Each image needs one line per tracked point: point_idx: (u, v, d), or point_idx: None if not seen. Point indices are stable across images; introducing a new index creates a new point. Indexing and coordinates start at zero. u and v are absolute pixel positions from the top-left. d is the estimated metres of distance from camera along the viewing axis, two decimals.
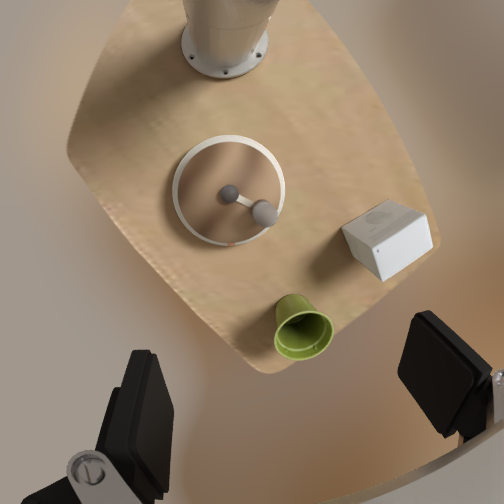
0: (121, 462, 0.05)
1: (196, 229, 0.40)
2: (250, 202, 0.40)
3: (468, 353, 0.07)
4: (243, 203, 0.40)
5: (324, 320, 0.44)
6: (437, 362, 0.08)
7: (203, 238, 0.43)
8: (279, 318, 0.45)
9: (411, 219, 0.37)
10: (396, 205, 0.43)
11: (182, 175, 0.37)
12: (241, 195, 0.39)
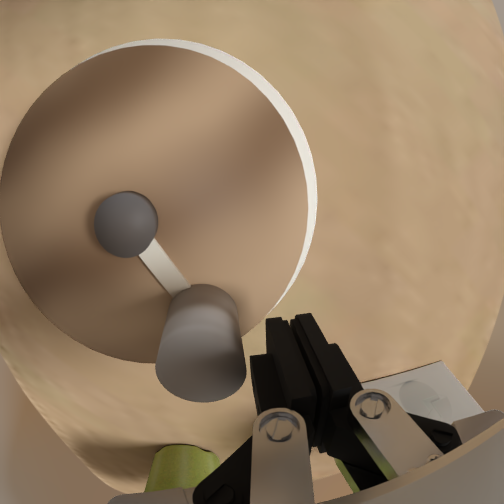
0: None
1: (18, 271, 0.11)
2: (178, 280, 0.12)
3: (328, 364, 0.07)
4: (156, 273, 0.11)
5: None
6: None
7: None
8: None
9: None
10: (455, 386, 0.18)
11: (37, 104, 0.08)
12: (161, 248, 0.11)
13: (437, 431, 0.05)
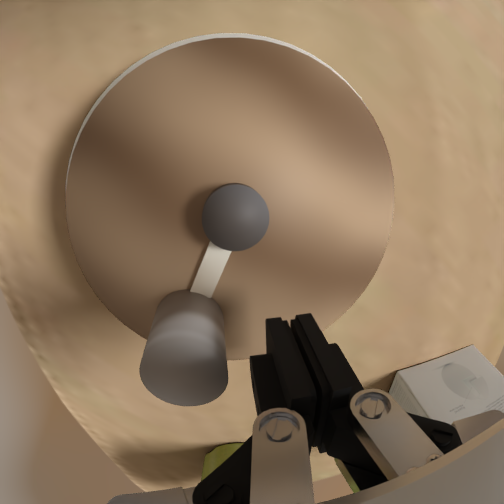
0: None
1: (98, 113, 0.09)
2: (209, 286, 0.12)
3: (328, 364, 0.07)
4: (203, 265, 0.12)
5: None
6: None
7: None
8: None
9: None
10: (488, 366, 0.19)
11: (292, 53, 0.09)
12: (228, 256, 0.12)
13: (437, 431, 0.05)
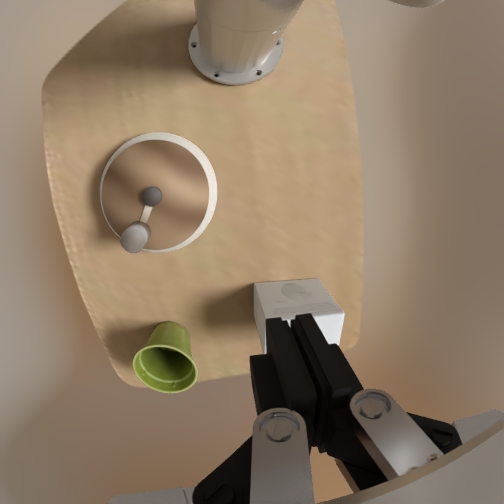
0: None
1: (112, 165, 0.32)
2: (145, 219, 0.35)
3: (328, 364, 0.07)
4: (143, 212, 0.35)
5: (192, 364, 0.40)
6: None
7: None
8: (149, 340, 0.39)
9: (325, 311, 0.36)
10: (321, 289, 0.42)
11: (169, 143, 0.32)
12: (151, 209, 0.35)
13: (437, 431, 0.05)
